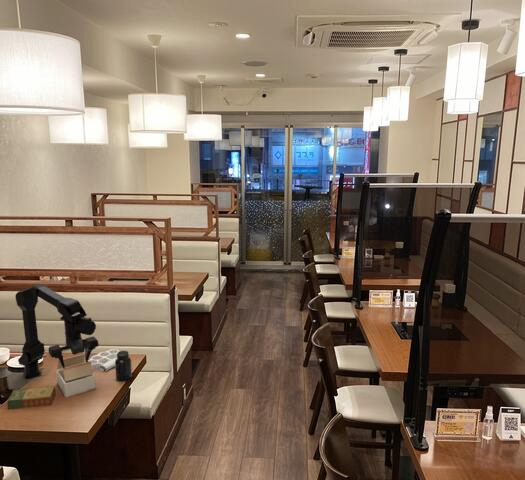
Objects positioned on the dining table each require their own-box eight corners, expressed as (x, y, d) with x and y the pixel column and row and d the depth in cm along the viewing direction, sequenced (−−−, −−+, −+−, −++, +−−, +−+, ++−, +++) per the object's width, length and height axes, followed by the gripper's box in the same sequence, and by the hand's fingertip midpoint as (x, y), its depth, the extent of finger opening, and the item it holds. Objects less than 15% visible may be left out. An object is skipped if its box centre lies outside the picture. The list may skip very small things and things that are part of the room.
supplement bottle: (112, 380, 206) (110, 354, 204) (122, 373, 212) (121, 348, 210) (125, 383, 204) (123, 357, 201) (135, 376, 210) (133, 351, 207)
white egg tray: (100, 375, 211) (79, 367, 218) (130, 360, 226) (109, 353, 233) (100, 369, 210) (78, 361, 217) (130, 353, 225) (109, 346, 233)
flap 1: (84, 354, 205) (84, 353, 205) (57, 361, 199) (57, 360, 199) (84, 362, 208) (83, 361, 208) (57, 369, 201) (57, 368, 202)
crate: (57, 383, 203) (56, 370, 202) (85, 375, 210) (84, 363, 209) (65, 397, 192) (64, 384, 191) (95, 388, 199) (94, 375, 198)
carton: (51, 405, 187) (50, 396, 186) (7, 410, 184) (6, 400, 183) (56, 394, 195) (55, 385, 194) (14, 398, 192) (13, 389, 191)
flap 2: (62, 368, 192) (63, 368, 192) (90, 361, 199) (90, 361, 198) (65, 381, 191) (65, 381, 191) (92, 373, 198) (93, 373, 197)
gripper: (53, 342, 183) (56, 379, 186) (101, 331, 194) (104, 366, 197) (46, 333, 192) (50, 368, 195) (93, 323, 202) (95, 357, 206)
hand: (75, 365), depth 198 cm, fingers open, 9 cm apart
